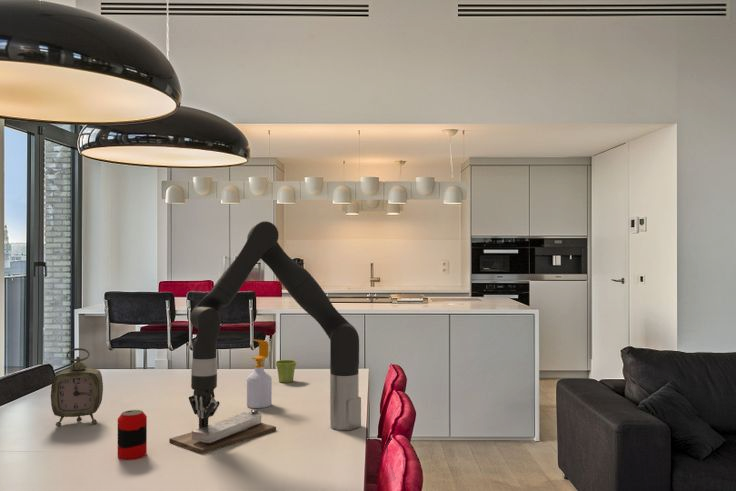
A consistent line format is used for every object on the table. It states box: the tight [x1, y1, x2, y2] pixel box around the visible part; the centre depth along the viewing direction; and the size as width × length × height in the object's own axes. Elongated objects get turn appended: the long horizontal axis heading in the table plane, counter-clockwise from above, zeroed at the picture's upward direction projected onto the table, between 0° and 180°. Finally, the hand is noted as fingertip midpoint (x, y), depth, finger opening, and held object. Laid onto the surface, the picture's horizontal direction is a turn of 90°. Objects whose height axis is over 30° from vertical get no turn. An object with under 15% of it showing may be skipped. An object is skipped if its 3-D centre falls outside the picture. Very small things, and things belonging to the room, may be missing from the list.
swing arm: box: [191, 409, 262, 443], centre depth 183 cm, size 7×26×3 cm, turn 151°
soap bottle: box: [246, 338, 273, 409], centre depth 220 cm, size 9×9×25 cm
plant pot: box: [275, 359, 298, 384], centre depth 261 cm, size 9×9×9 cm
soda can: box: [117, 409, 148, 461], centre depth 167 cm, size 8×8×12 cm
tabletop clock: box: [50, 347, 104, 428], centre depth 198 cm, size 14×9×25 cm, turn 105°
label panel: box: [168, 422, 277, 455], centre depth 184 cm, size 16×28×2 cm, turn 141°
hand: (203, 429), depth 180 cm, fingers closed
